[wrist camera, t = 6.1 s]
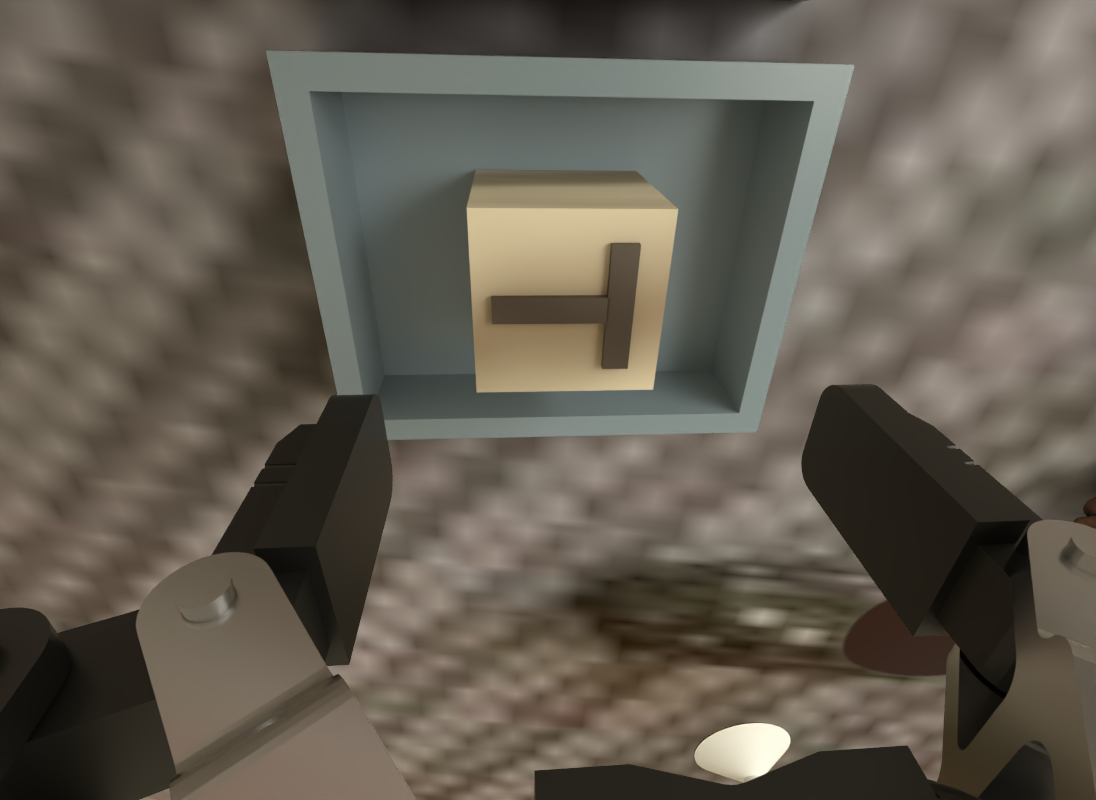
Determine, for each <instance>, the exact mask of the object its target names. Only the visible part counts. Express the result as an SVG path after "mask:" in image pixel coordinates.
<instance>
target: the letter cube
mask: <svg viewBox="0 0 1096 800" xmlns="http://www.w3.org/2000/svg"><path fill="white" fill-rule="evenodd" d="M677 215H678V208H677V207H675V206H674V205H673V204H672V203H671V202H670V201H669V200H668V199H667V198H666V197H664V196H663V195H662V194H661V193H660V192H659V191H658V190H657V189H656V188H655V187H653V186H652V185H651V184H650V183H649V182H648V181H647V180H646V179H645V178H644V177H642V176H641V175H640V174H639V173H638V172H637V171H594V170H500V169H476V171H475V175H474V179H473V183H472V188H471V192H470V196H469V200H468V204H467V224H468V243H469V261H470V280H471V298H472V317H473V335H474V354H475V372H476V391H477V392H538V391H601V390H653V387H654V379H655V372H656V365H657V358H658V351H659V344H660V337H661V330H662V322H663V315H664V308H665V301H666V294H667V287H668V280H669V272H670V265H671V258H672V251H673V244H674V237H675V230H676V223H677Z"/></svg>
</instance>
